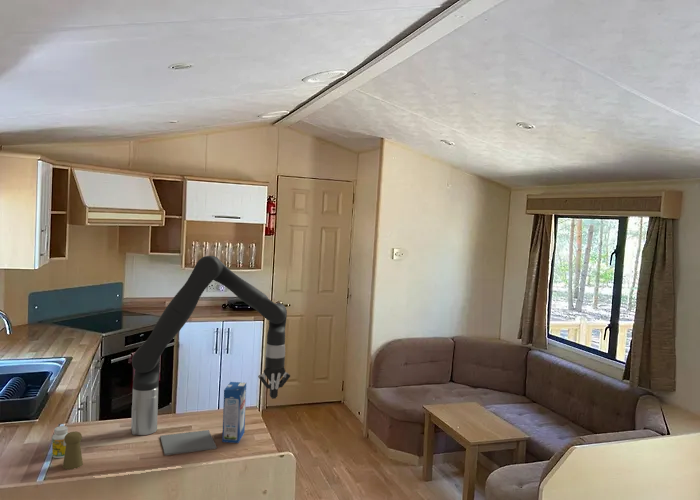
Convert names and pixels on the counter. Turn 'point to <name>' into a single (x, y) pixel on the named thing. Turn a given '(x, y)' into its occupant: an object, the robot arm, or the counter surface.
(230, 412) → the milk carton
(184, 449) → the mat
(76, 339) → the counter surface
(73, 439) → the cork
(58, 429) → the supplement bottle
